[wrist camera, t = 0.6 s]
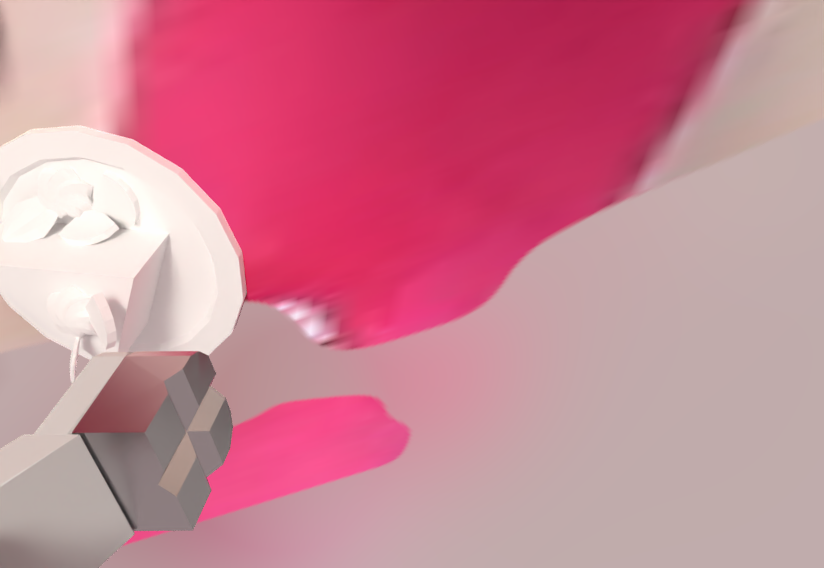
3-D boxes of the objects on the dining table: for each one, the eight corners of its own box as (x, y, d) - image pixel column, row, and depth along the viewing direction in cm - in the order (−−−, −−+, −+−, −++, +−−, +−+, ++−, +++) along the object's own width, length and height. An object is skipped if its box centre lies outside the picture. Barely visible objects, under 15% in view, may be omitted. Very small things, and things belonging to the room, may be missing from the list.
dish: (279, 198, 61) (232, 276, 52) (211, 396, 75) (166, 484, 66) (-18, 73, 58) (-122, 131, 49) (-29, 302, 72) (-111, 380, 63)
